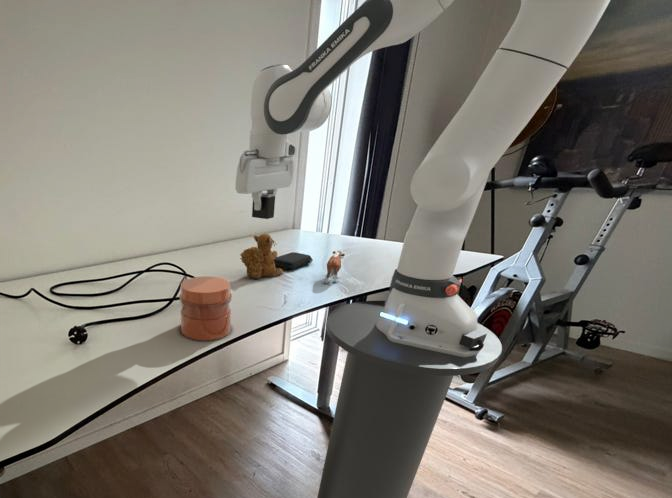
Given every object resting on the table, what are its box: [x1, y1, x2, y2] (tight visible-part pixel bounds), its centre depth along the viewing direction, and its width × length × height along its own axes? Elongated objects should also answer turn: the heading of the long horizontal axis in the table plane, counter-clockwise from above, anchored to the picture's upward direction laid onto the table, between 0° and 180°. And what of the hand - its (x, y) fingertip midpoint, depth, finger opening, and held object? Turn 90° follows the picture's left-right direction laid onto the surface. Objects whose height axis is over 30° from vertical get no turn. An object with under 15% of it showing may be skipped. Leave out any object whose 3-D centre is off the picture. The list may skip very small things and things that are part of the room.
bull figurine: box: [324, 249, 345, 284], centre depth 120 cm, size 4×13×8 cm, turn 152°
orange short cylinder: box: [178, 275, 233, 341], centre depth 89 cm, size 12×12×12 cm
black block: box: [251, 192, 276, 220], centre depth 100 cm, size 5×3×6 cm, turn 45°
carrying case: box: [274, 251, 314, 271], centre depth 136 cm, size 11×3×15 cm
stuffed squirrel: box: [239, 233, 284, 280], centre depth 124 cm, size 10×14×13 cm
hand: (263, 208), depth 100 cm, fingers closed on black block, 3 cm apart
